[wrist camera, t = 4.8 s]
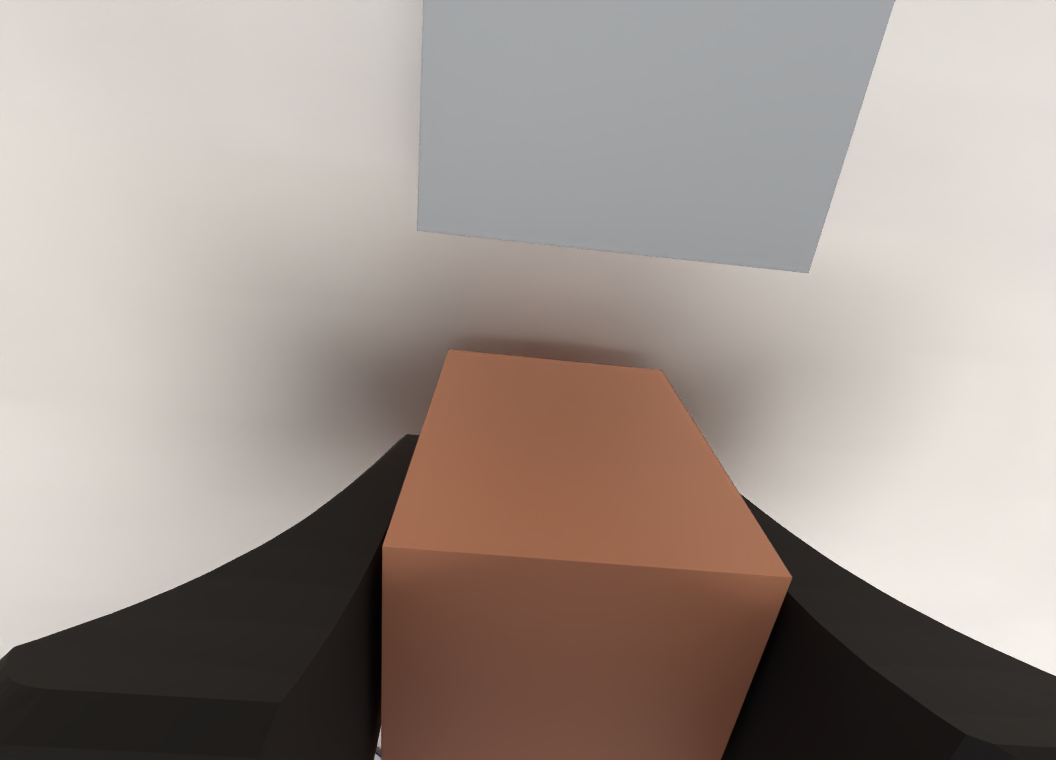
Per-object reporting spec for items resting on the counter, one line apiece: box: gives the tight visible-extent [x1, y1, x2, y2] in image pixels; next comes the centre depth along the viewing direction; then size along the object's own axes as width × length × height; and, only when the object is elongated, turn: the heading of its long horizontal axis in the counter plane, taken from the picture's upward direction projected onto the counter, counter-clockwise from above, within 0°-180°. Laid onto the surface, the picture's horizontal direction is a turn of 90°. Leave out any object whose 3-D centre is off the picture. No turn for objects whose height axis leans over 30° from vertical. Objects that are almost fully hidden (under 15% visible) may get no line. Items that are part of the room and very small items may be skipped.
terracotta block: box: [381, 350, 792, 760], centre depth 10 cm, size 4×4×6 cm
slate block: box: [417, 0, 895, 273], centre depth 8 cm, size 4×4×6 cm
